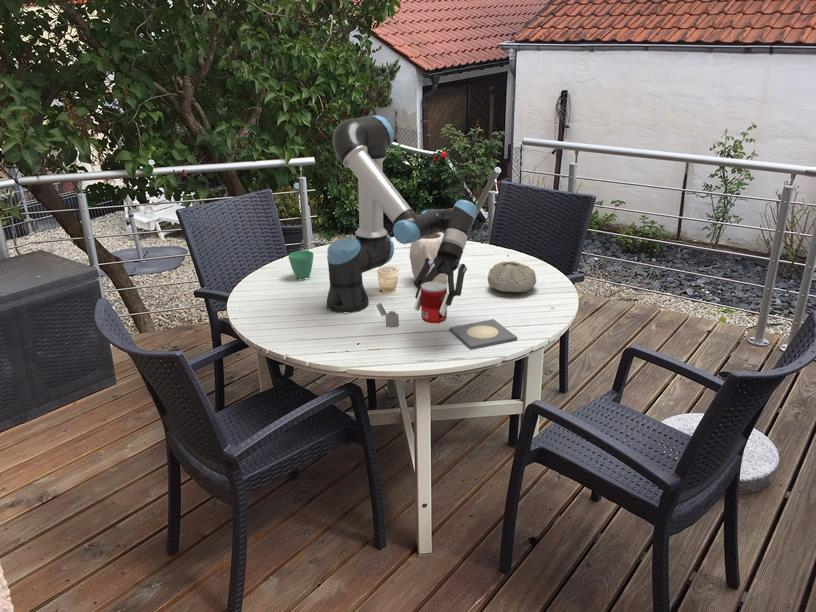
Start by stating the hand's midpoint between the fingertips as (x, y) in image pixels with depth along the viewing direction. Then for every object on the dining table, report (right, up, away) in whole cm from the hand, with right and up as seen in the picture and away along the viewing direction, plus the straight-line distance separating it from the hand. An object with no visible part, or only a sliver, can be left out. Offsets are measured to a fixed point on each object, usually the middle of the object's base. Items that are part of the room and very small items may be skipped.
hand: (428, 311), depth 208 cm
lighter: (-13, -5, +20) cm, 24 cm away
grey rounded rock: (+32, +7, +47) cm, 58 cm away
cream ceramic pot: (+2, +11, +58) cm, 59 cm away
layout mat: (+17, -8, +10) cm, 22 cm away
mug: (-48, +14, +71) cm, 87 cm away
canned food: (+2, -2, +4) cm, 5 cm away
